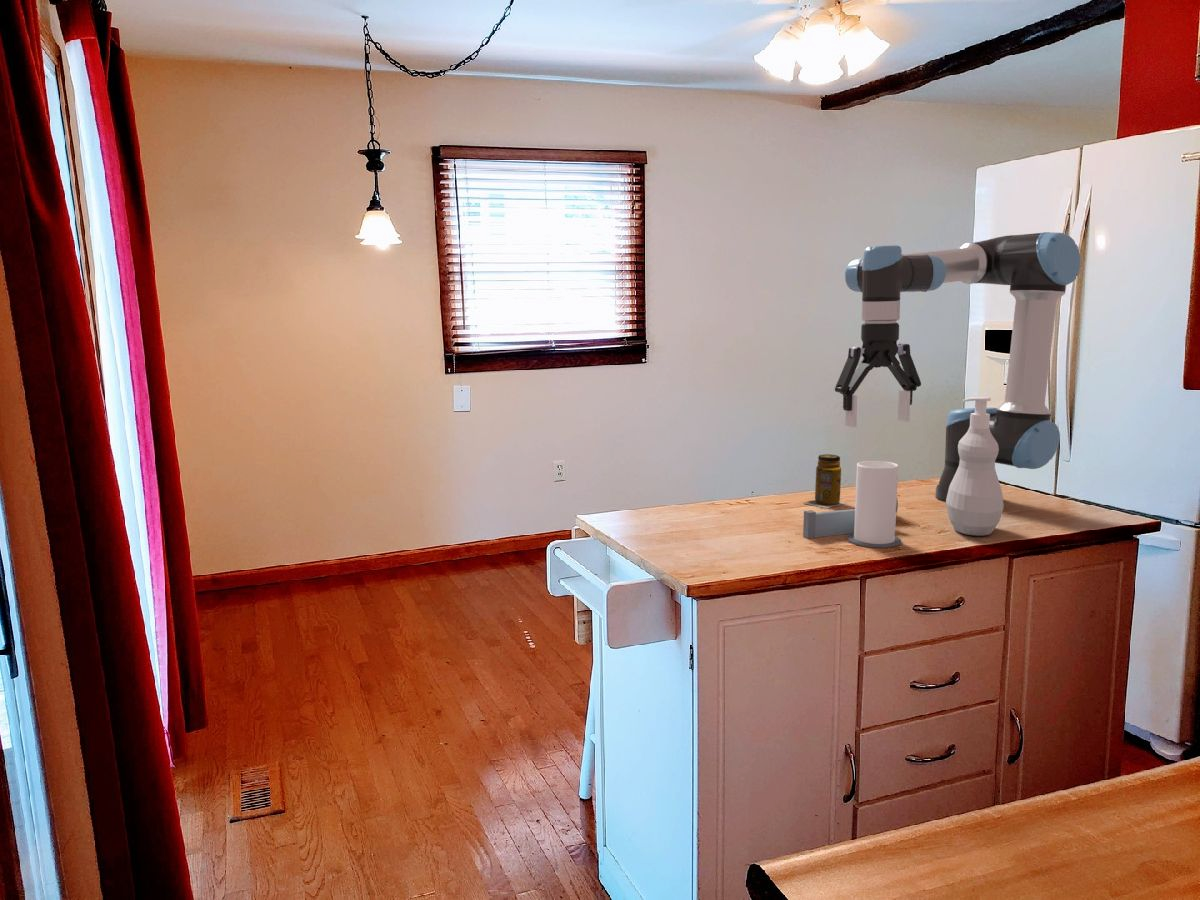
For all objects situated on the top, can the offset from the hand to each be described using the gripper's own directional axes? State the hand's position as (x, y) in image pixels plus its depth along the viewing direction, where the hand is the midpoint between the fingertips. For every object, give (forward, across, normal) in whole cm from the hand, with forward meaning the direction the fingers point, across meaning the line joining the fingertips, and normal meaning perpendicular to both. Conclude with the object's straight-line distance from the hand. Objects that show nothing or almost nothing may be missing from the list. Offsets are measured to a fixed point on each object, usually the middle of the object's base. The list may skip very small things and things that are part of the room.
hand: (877, 423), depth 189 cm
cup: (+24, +3, +4) cm, 24 cm away
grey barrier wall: (+24, +4, -3) cm, 25 cm away
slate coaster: (+24, +3, +4) cm, 25 cm away
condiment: (+25, -7, -29) cm, 39 cm away
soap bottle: (+25, -21, +6) cm, 33 cm away
